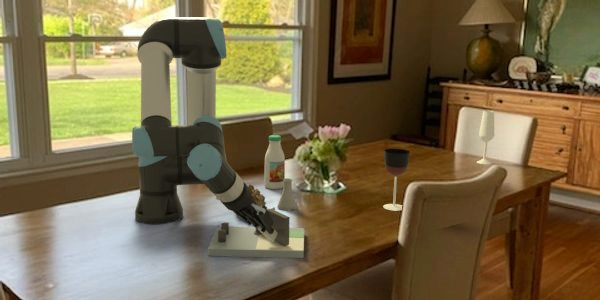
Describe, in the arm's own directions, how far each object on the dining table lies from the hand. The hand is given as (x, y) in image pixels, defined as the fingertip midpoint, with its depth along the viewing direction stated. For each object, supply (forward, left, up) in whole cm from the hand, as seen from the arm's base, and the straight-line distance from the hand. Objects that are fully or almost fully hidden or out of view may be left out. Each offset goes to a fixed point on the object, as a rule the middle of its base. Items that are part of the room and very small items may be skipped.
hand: (273, 236), depth 165 cm
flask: (+2, +40, -5) cm, 41 cm away
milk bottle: (-4, +65, -5) cm, 66 cm away
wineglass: (+39, +43, -5) cm, 59 cm away
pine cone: (-8, +29, -5) cm, 31 cm away
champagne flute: (+90, +113, -5) cm, 145 cm away
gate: (-1, +4, -2) cm, 5 cm away
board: (-5, +5, -4) cm, 8 cm away
